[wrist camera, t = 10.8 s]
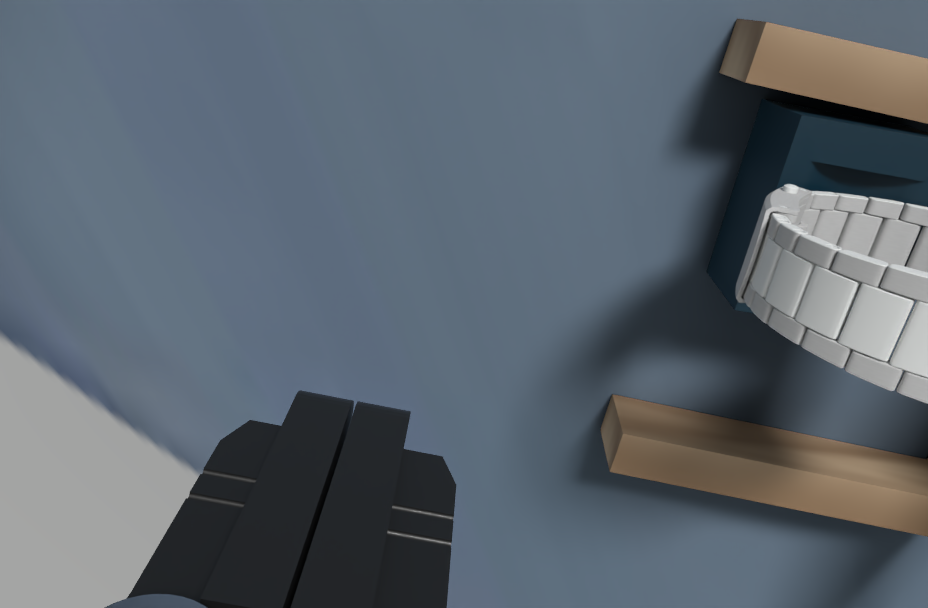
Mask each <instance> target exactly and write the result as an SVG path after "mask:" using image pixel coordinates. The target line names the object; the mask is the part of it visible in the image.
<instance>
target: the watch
mask: <svg viewBox="0 0 928 608" xmlns="http://www.w3.org/2000/svg"><path fill="white" fill-rule="evenodd" d="M707 273H708V274H709V276H710V277H711V278H712V280H713V281H714V283H715V284H716V285H717V287H718V288H719V289H720V291H721V292H722V293H723V295H724V296H725V297H726V299H727V300H728V302H729V303H730V304H731V306H732V307H733V308H734V310H738V311H743V312H749V313H754V314H755V315H756V316H757V317H758V318H759V319H760V320H761V321H763V322H764V323H767V324H768V325H769V326H770V327H771V328H773V329H774V330H775V331H777V332H778V333H780V334H781V335H783V336H784V337H786V338H787V339H789V340H790V341H792V342H794V343H795V344H798V345H801V344H802V345H801V346H802V348H804V349H806V350H807V351H809V352H811V353H813V354H814V355H816V356H818V357H820V358H822V359H824V360H825V361H827V362H829V363H831V364H833V365H835V366H837V367H840V368H844V367H845V366H846V367H845V371H847V372H848V373H850V374H852V375H855V376H857V377H859V378H861V379H863V380H866V381H868V382H870V383H872V384H875V385H877V386H880V387H882V388H884V389H887V390H890V391H894V390H895V388H896V386H897V383H898V381H899V379H900V377H901V375H902V373H903V370H905V371H904V373H903V376H902V378H901V380H900V382H899V384H898V386H897V392H898V393H900V394H902V395H905V396H907V397H910V398H913V399H916V400H918V401H921V402H924V403H927V404H928V133H927V132H924V131H921V130H918V129H915V128H912V127H909V126H906V125H901V124H896V123H890V122H885V121H879V120H874V119H868V118H863V117H857V116H852V115H846V114H841V113H836V112H830V111H825V110H819V109H814V108H808V107H803V106H797V105H792V104H786V103H781V102H776V101H770V100H765V99H762V101H761V104H760V107H759V110H758V113H757V117H756V120H755V123H754V126H753V129H752V132H751V135H750V138H749V141H748V145H747V148H746V151H745V154H744V157H743V160H742V163H741V166H740V169H739V173H738V176H737V179H736V182H735V185H734V188H733V191H732V194H731V197H730V201H729V204H728V207H727V210H726V213H725V216H724V219H723V222H722V225H721V229H720V232H719V235H718V238H717V241H716V244H715V247H714V250H713V253H712V257H711V260H710V263H709V266H708V269H707ZM914 299H915V300H917V302H916V304H915V306H914V308H913V310H912V313H911V315H910V317H909V319H908V322H907V324H906V326H905V328H904V330H903V333H902V335H901V337H900V339H899V342H898V344H897V346H896V348H895V350H894V353H893V355H892V357H891V359H890V360H889V357H890V355H891V353H892V350H893V348H894V346H895V344H896V342H897V339H898V337H899V335H900V333H901V330H902V328H903V326H904V324H905V321H906V319H907V317H908V315H909V313H910V310H911V308H912V306H913V304H914V301H915V300H914ZM842 329H843V330H842ZM841 331H842V333H841ZM840 334H841V335H840ZM839 336H840V337H839ZM852 350H853V351H852ZM849 357H850V358H849ZM846 364H847V365H846Z"/></svg>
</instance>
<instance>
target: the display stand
mask: <svg viewBox="0 0 928 608" xmlns="http://www.w3.org/2000/svg"><path fill="white" fill-rule="evenodd" d="M719 73H721V74H724V75H726V76H729V77H732V78H735V79H737V80H740V81H743V82H745V83H750V84H754V85H759V86H763V87H768V88H772V89H776V90H781V91H785V92H790V93H794V94H799V95H803V96H808V97H812V98H816V99H821V100H825V101H830V102H834V103H839V104H843V105H847V106H852V107H856V108H861V109H865V110H870V111H874V112H878V113H883V114H887V115H892V116H896V117H901V118H905V119H910V120H914V121H918V122H923V123H927V124H928V59H926V58H922V57H917V56H913V55H908V54H904V53H900V52H895V51H891V50H887V49H882V48H878V47H873V46H869V45H865V44H860V43H856V42H852V41H847V40H843V39H839V38H834V37H830V36H825V35H821V34H817V33H812V32H808V31H804V30H799V29H795V28H790V27H786V26H782V25H777V24H773V23H769V22H762V21H753V20H744V19H737V20H736V23H735V26H734V29H733V33H732V36H731V39H730V42H729V45H728V48H727V51H726V54H725V57H724V60H723V63H722V66H721V69H720V72H719ZM600 431H601V435H602V439H603V444H604V448H605V453H606V457H607V461H608V466H609V470H610V472H613V473H618V474H623V475H628V476H633V477H638V478H643V479H647V480H652V481H657V482H662V483H667V484H672V485H677V486H682V487H687V488H692V489H697V490H702V491H707V492H711V493H716V494H721V495H726V496H731V497H736V498H741V499H746V500H751V501H756V502H761V503H766V504H770V505H775V506H780V507H785V508H790V509H795V510H800V511H805V512H810V513H815V514H820V515H825V516H829V517H834V518H839V519H844V520H849V521H854V522H859V523H864V524H869V525H874V526H879V527H884V528H889V529H893V530H898V531H903V532H908V533H913V534H918V535H923V536H928V458H927V459H922V458H917V457H913V456H908V455H903V454H898V453H893V452H888V451H884V450H879V449H874V448H869V447H864V446H860V445H855V444H850V443H845V442H840V441H835V440H831V439H826V438H821V437H816V436H811V435H806V434H802V433H797V432H792V431H787V430H782V429H778V428H773V427H768V426H763V425H758V424H753V423H749V422H744V421H739V420H734V419H729V418H725V417H720V416H715V415H710V414H705V413H700V412H696V411H691V410H686V409H681V408H676V407H671V406H667V405H662V404H657V403H652V402H647V401H643V400H638V399H633V398H628V397H623V396H618V395H614V394H612V396H611V399H610V402H609V405H608V408H607V411H606V414H605V417H604V420H603V423H602V426H601V429H600Z"/></svg>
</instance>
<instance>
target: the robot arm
mask: <svg viewBox="0 0 928 608" xmlns="http://www.w3.org/2000/svg"><path fill="white" fill-rule="evenodd" d="M353 406H354V401H352V400H347V399H342V398H337V397H331V396H326V395H321V394H316V393H311V392H306V391H299V392H298V393H297V395H296V397H295V399H294V401H293V403H292V405H291V407H290V409H289V411H288V413H287V416H286V418H285V420H284V422H283V424H282V426H279V425H273V424H268V423H263V422H258V421H253V420H250V421H248V422H247V423H245V424H244V425H242V426H241V427H239V428H238V429H236V430H235V431H233V432H232V433H230V434H229V435H228V436H226V437H225V438H223V439H222V440H220V442H219V443H218V445H217V447H216V449H215V450H214V452H213V454H212V455H211V457H210V459H209V460H208V462H207V464H206V466H205V467H204V470H203V474H200V476H199V477H198V479H197V481H196V483H195V484H194V486H193V488H192V490H191V491H190V495H189V498H188V499H186V500H185V501H184V503H183V505H182V506H181V508H180V510H179V511H178V513H177V515H176V517H175V519H174V520H173V522H172V523H171V525H170V527H169V529H168V530H167V532H166V534H165V535H164V537H163V539H162V540H161V542H160V544H159V546H158V547H157V549H156V551H155V553H154V554H153V556H152V557H151V559H150V561H149V563H148V564H147V566H146V568H145V569H144V571H143V573H142V574H141V576H140V578H139V580H138V581H137V583H136V585H135V586H134V588H133V590H132V592H131V593H130V594H129V596H128V597H127V599H125V600H122V601H119V602H116V603H113V604H111V605H109V606H107V607H105V608H446V607H447V594H448V582H449V569H450V556H451V542H452V531H453V516H454V506H455V493H456V484H455V482H454V479H453V477H452V475H451V473H450V471H449V469H448V467H447V465H446V463H445V461H444V459H443V457H442V456H437V455H432V454H427V453H421V452H416V451H411V450H406V449H404V443H405V438H406V433H407V428H408V423H409V418H410V413H411V412H410V411H405V410H400V409H395V408H389V407H384V406H379V405H374V404H369V403H363V402H357V404H356V407H355V410H354V413H353ZM352 414H353V416H352Z"/></svg>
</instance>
